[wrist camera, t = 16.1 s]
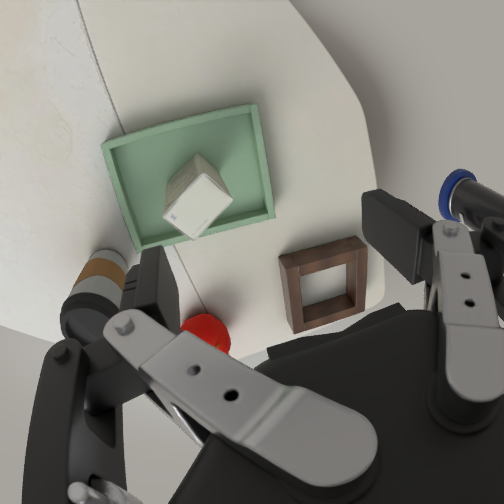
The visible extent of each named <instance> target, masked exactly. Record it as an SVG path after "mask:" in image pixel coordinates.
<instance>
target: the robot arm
mask: <svg viewBox="0 0 504 504" xmlns="http://www.w3.org/2000/svg"><path fill="white" fill-rule="evenodd" d="M361 201H362V230H363V234H364V237H365V239H366V240H367V242H368V243H369V244H370V245H371V246H373V247H374V248H375V249H376V250H377V251H378V252H379V253H380V254H381V255H382V256H383V257H384V258H385V259H386V260H387V261H388V262H390V264H392V265H393V266H394V267H395V268H396V269H397V270H398V271H399V272H400V273H401V274H402V275H403V276H404V277H405V278H406V279H407V280H408V281H409V282H410V283H411V284H412V285H414V284H416V283H419V282H421V281H424V280H425V281H426V282H425V288H424V310H407V311H406V310H405V309H404V308H403V307H402V306H401V305H400V303H396V304H393V305H391V306H388V307H386V308H383V309H380V310H378V311H375V312H372V313H370V314H368V315H367V316H365V317H364V318H362V319H361V320H359V321H358V322H356V323H355V324H353V325H351V326H350V327H348V328H347V329H345V330H344V331H341V332H336V333H329V334H322V335H314V336H307V337H301V338H297V339H294V340H291V341H288V342H285V343H281V344H278V345H275V346H271V347H268V348H267V353H268V357H269V359H268V360H266V361H264V362H262V363H261V364H260V365H258V366H257V367H255V368H254V369H252V368H250V367H248V366H247V365H245V364H243V363H241V362H239V361H238V360H236V359H234V358H232V357H231V356H229V355H227V354H225V353H224V352H222V351H220V350H219V349H217V348H215V347H213V346H212V345H210V344H208V343H207V342H205V341H203V340H202V339H200V338H198V337H197V336H195V335H194V334H192V333H190V332H188V331H186V330H183V331H182V332H181V328H180V310H179V293H178V288H177V284H176V281H175V278H174V275H173V272H172V270H171V267H170V264H169V262H168V259H167V256H166V253H165V251H164V248H163V246H162V245H158V246H154V247H151V248H147V249H144V250H142V254H141V260H140V264H138V265H134V266H132V268H131V269H130V270H129V272H128V273H127V274H126V278H125V282H124V284H125V285H124V287H123V292H122V297H121V302H120V307H119V313H118V314H116V315H114V316H113V317H112V318H111V319H110V320H109V321H108V322H107V323H106V325H105V327H104V330H103V335H104V337H102V338H101V339H99V340H97V341H95V342H93V343H91V344H89V345H87V346H85V347H82V346H81V344H80V343H79V341H78V340H76V339H73V338H68V339H64V340H61V341H59V342H57V343H56V344H55V345H53V346H52V347H51V348H50V349H49V351H48V352H47V354H46V355H45V358H44V362H43V365H42V369H41V373H40V378H39V382H38V386H37V391H36V396H35V400H34V406H33V411H32V416H31V422H30V427H29V434H28V441H27V448H26V456H25V464H24V475H23V487H22V488H23V489H22V504H143V503H142V502H141V501H140V500H139V499H138V498H137V497H135V496H134V495H132V494H130V493H129V492H127V485H126V474H125V461H124V443H123V416H122V415H123V413H122V404H123V403H125V402H127V401H129V400H131V399H133V398H135V397H137V396H139V395H142V394H144V395H145V396H146V397H147V398H148V399H149V400H150V401H151V402H152V403H153V404H154V405H155V406H156V407H158V408H159V409H160V410H161V411H162V412H163V413H164V414H165V415H166V416H167V417H169V418H170V419H171V420H172V421H173V422H174V423H175V424H176V425H178V426H179V427H180V428H181V429H182V430H183V431H184V432H185V433H186V434H187V436H189V437H190V438H191V439H192V440H193V441H194V442H195V443H196V444H197V445H198V446H200V447H201V448H202V449H201V451H200V452H199V454H198V456H197V458H196V459H195V461H194V463H193V464H192V466H191V467H190V469H189V471H188V472H187V474H186V476H185V477H184V479H183V480H182V482H181V484H180V485H179V487H178V489H177V490H176V492H175V493H174V495H173V497H172V498H171V500H170V501H169V503H168V504H504V328H501V327H500V325H499V320H498V316H499V317H500V318H501V319H502V320H503V321H504V276H503V274H504V196H503V195H501V194H499V193H497V192H495V191H493V190H492V189H489V188H488V187H485V186H484V185H482V184H480V183H478V182H476V181H474V180H473V179H471V178H469V177H462V178H460V179H458V180H457V181H456V182H455V183H454V185H453V186H452V188H451V190H450V193H449V196H448V201H447V208H448V212H449V214H450V215H451V216H452V217H453V218H455V219H457V220H459V221H460V222H461V223H462V224H461V223H459V222H456V221H453V220H440V221H435V220H433V219H432V218H431V217H429V216H427V215H426V214H424V213H423V212H421V211H419V210H418V209H417V208H415V207H413V206H412V205H410V204H409V203H407V202H406V201H404V200H400V199H397V198H395V197H393V196H392V195H390V194H388V193H387V192H385V191H384V190H382V189H376V190H372V191H368V192H364V193H363V194H362V198H361ZM465 225H467V226H468V227H469V228H471V229H472V230H474V231H468V229H467V227H466V226H465Z"/></svg>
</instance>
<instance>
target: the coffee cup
mask: <svg viewBox="0 0 504 504" xmlns="http://www.w3.org/2000/svg"><path fill="white" fill-rule="evenodd" d="M126 274H127V265H126V262H125V261H124V259H123V258H122V257H121V256H120V255H119V254H118V253H116V252H114V251H112V250H100V251H97V252H96V253H94V254H93V255H92V256H91V257H90V259H89V260H88V262H87V263H86V265H85V266H84V268H83V270H82V271H81V273H80V275H79V277H78V279H77V280H76V282H75V284H74V286H73V288H72V291H71V293H70V295H69V297H68V298H67V299H66V301H65V302H64V303H63V306H62V308H61V313H60V324H61V331H62V334H63V336H64V337H65V339H68V338H73V339H76V340H78V341H79V343H80V344H81V346H82V347H85V346H87V345H89V344H91V343H93V342H95V341H97V340H99V339H101V338H102V337H104V335H103V330H104V327H105V325H106V323H107V322H108V321H109V320H110V319H111V318H112V317H113V316H114V315H116V314H118V313H119V307H120V302H121V297H122V292H123V287H124V285H125V284H124V282H125V278H126Z"/></svg>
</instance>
